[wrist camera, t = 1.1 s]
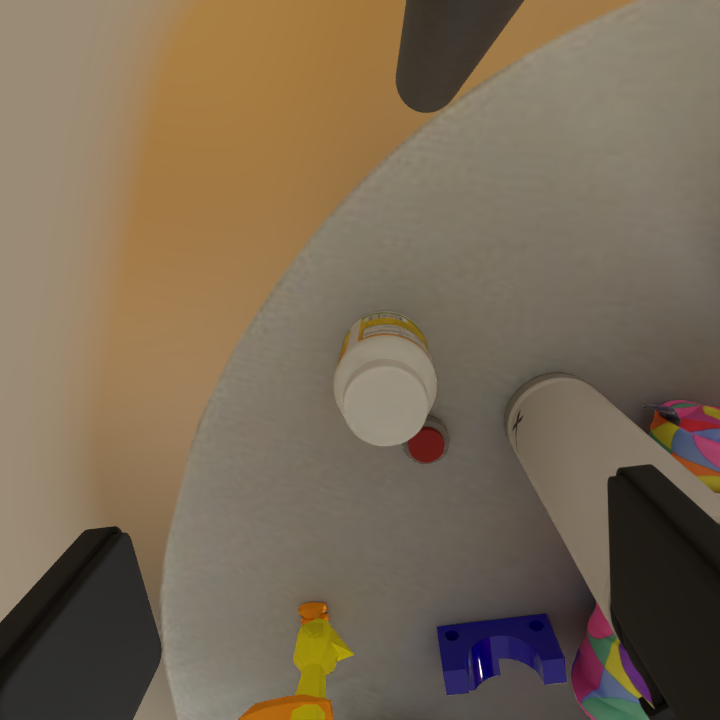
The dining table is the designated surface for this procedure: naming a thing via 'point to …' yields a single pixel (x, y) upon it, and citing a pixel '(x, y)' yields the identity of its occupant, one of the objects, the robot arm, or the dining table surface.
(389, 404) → the supplement bottle
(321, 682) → the toy figure
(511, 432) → the travel mug
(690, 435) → the pencil case
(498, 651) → the cable holder
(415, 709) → the dining table surface
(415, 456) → the push button
